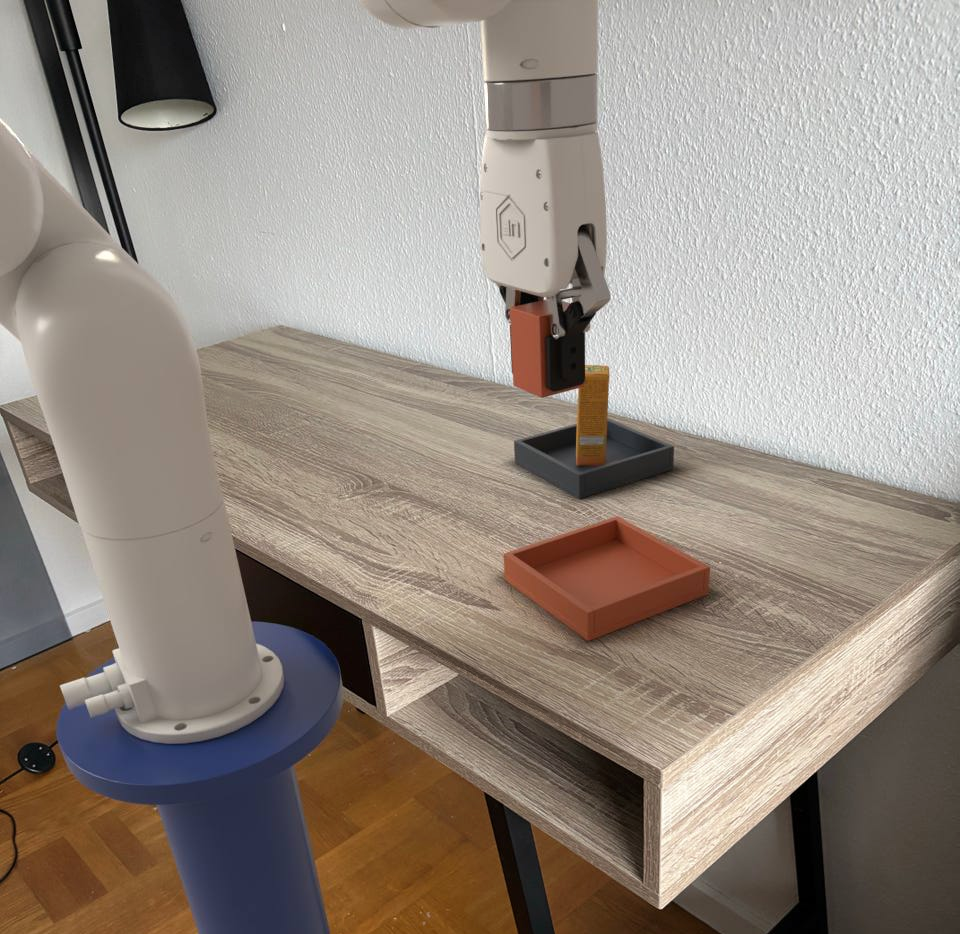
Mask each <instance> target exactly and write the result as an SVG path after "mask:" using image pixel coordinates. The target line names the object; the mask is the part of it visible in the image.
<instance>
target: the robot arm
mask: <svg viewBox="0 0 960 934" xmlns="http://www.w3.org/2000/svg"><path fill="white" fill-rule="evenodd" d="M357 1H358V2H359V3H360V5H361V6H362V7H363V8H364V9H365V10H366V11H367V12H368V13H369V14H370V15H371V16H373V17H374V18H376V20H378V21H380V22H382V23H383V24H386V25H389V26H391V27H395V28H399V29H404V30H424V29H435V28H440V27H444V26H454V25H463V24H464V25H465V24H473V23H479V22H480V40H481V57H482V58H481V59H482V79H483V97H484V112H485V116H484V117H485V129H486V131H485V132H486V134H484V139H483V146H482V154H481V155H482V156H481V167H480V186H479V189H480V191H479V221H480V222H479V231H480V232H479V233H480V237H479V238H480V259H481V261H480V262H481V269H482V273H483V274H484V276H485V277H486V278H487V279H488V280H489V281H491V282H492V283H494V284H495V285H496V286H497V288H498V289H499V294H500V296H501V298H502V300H503V302H504V306H505V308H504V316H505V320H506V321H507V323H508V324H509V339H510V340H509V341H510V360H511V361H510V362H511V374H512V375H513V366H512V344H511V322H510V307H514V306H519V305H524V304H528V303H533V302H538V301H542V300H547V307H548V315H549V323H550V331H551V334H552V336H549V337H545V341H546V379H547V389H548V390H551V391H553V392H555V391H559V390H563V389H567V388H571V387H574V386H578V385H582V384H583V383H584V381H585V365H586V333H588V332H589V331H590V330H591V322H592V320H593V319H594V317H595V316H596V314H597V312H599V311H600V310H601V309H603V308H604V307H605V306H606V305H608V303H609V302H610V301H611V292H610V289H609V286H608V283H607V280H606V277H605V274H606V269H607V268H606V267H607V252H608V251H607V247H608V244H607V243H608V242H607V240H608V239H607V238H608V235H607V233H608V231H607V228H608V227H607V226H608V225H607V206H606V205H607V204H606V189H605V177H604V169H603V168H604V166H603V159H602V150H601V145H600V138H599V132H597V131H598V97H599V96H598V86H599V85H598V84H599V83H598V82H599V81H598V78H599V77H598V76H599V75H598V71H599V70H598V67H599V65H598V63H599V62H598V58H599V56H598V52H599V51H598V49H599V48H598V47H599V46H598V42H599V41H598V40H599V39H598V38H599V36H598V34H599V32H598V30H599V25H598V24H599V12H598V11H599V0H357ZM570 284H571V287H569V285H570ZM545 298H546V299H545ZM568 299H571V302H569V303H570V305H569V306H568V308H567V309H566V311H565V312H563V304H562V301H564V300H568ZM0 325H1V326H2V327H4V328H5V329H6V330H7V331H8V332H9V333H10V334H12V335H13V336H14V337H15V338H16V339H17V340H18V341H19V342H20V343H21V347H22V350H23V354H24V358H25V362H26V366H27V369H28V372H29V375H30V380H31V382H32V386H33V388H34V392H35V394H36V397H37V400H38V403H39V405H40V409H41V411H42V415H43V418H44V420H45V423H46V427H47V429H48V432H49V435H50V438H51V442H52V444H53V447H54V450H55V453H56V456H57V459H58V462H59V463H58V464H59V466H60V469H61V472H62V475H63V478H64V481H65V485H66V488H67V491H68V495H69V497H70V501H71V504H72V507H73V510H74V513H75V516H76V519H77V523H78V526H79V528H80V529H81V532H82V536H83V539H84V543H85V545H86V548H87V549H86V550H87V552H88V555H89V557H90V561H91V564H92V568H93V571H94V574H95V577H96V580H97V583H98V586H99V589H100V593H101V596H102V599H103V602H104V606H105V608H106V612H107V615H108V618H109V621H110V624H111V627H112V630H113V633H114V637H115V641H116V643H117V645H118V648H115V649H113V650H112V651H111V652H112V654H113V657H114V658H115V661H116V663H114V664H113V665H110V666H107V667H104V668H103V670H104V672H103V673H100V674H97V675H94V676H91V677H88V678H86V677H81V678H78V679H75V680H72V681H69V682H65V683H63V684H60V685H59V688H60V690H61V693H62V696H63V698H64V702H66V704H67V707H68V709H69V710H71V709H74V708H77V707H80V706H83V705H86V706H87V708H88V711H89V714H90V716H91V718H93V717H96V716H99V715H102V714H105V713H108V712H109V711H111V710H114V709H115V711H116V714H117V718H118V720H119V722H120V723H121V725H122V727H123V728H124V729H125V730H127V731H128V732H129V733H130V734H132V735H134V736H136V737H138V738H140V739H144V740H147V741H151V742H156V743H165V744H186V743H193V742H200V741H205V740H209V739H213V738H217V737H220V736H223V735H226V734H228V733H231V732H234V731H236V730H238V729H240V728H242V727H244V726H246V725H248V724H250V723H251V722H253V721H254V720H256V719H257V718H259V717H260V716H262V715H263V714H264V713H265V712H266V711H267V710H268V709H269V708H270V707H272V706H273V704H274V703H275V702H276V700H277V699H278V698H279V696H280V694H281V692H282V689H283V686H284V674H283V668H282V665H281V662H280V660H279V658H278V657H277V656H276V655H275V654H274V653H273V652H272V651H271V650H269V649H267V648H266V647H264V646H262V645H259V644H256V641H255V636H254V632H253V627H252V623H251V621H252V619H251V618H252V617H251V614H250V609H249V606H248V602H247V597H246V592H245V588H244V583H243V579H242V574H241V569H240V565H239V561H238V556H237V551H236V547H235V543H234V538H233V533H232V530H231V529H232V528H231V525H230V520H229V516H228V511H227V507H226V504H225V503H226V502H225V498H224V495H223V491H222V487H221V483H220V478H219V474H218V473H219V472H218V468H217V465H216V464H217V463H216V460H215V455H214V450H213V444H212V439H211V434H210V428H209V421H208V415H207V407H206V400H205V393H204V384H203V379H202V378H203V377H202V371H201V365H200V359H199V355H198V351H197V347H196V344H195V340H194V337H193V334H192V332H191V329H190V327H189V324H188V322H187V320H186V318H185V315H184V314H183V312H182V310H181V309H180V307H179V305H178V304H177V302H176V301H175V299H174V298H173V297H172V295H171V294H170V293H169V291H168V290H167V289H166V288H165V287H164V286H163V285H162V284H161V283H160V282H159V281H158V280H157V279H156V278H154V276H153V275H152V274H150V272H148V271H147V270H146V269H145V268H143V267H142V266H141V265H140V264H139V263H138V262H137V261H136V260H135V259H134V258H133V257H132V256H131V255H130V254H129V253H128V252H127V251H126V250H125V249H124V248H123V247H122V245H120V244H119V243H118V242H117V241H116V240H115V239H114V238H113V236H111V234H109V233H108V232H107V230H106V229H105V228H104V227H103V226H102V225H101V224H100V223H99V222H98V221H97V220H96V219H95V217H93V216H92V215H91V214H90V213H89V211H87V210H86V209H85V207H84V206H83V205H82V204H81V203H80V202H79V201H78V199H76V198H75V196H73V195H72V193H70V191H68V190H67V188H65V186H64V185H63V184H62V183H61V182H60V181H59V180H58V179H57V178H56V177H55V176H54V175H53V174H52V173H51V172H50V171H49V170H48V169H47V167H46V166H45V165H44V164H43V163H42V162H41V161H40V160H39V159H38V158H37V156H35V155H34V153H33V152H31V150H30V149H29V148H28V147H27V146H26V145H25V144H24V143H23V142H22V141H21V139H20V138H19V137H18V136H17V134H16V133H15V132H14V131H13V130H12V129H11V127H10V126H8V124H7V123H5V121H3V120H2V119H1V118H0Z"/></svg>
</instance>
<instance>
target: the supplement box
mask: <svg viewBox="0 0 960 934" xmlns="http://www.w3.org/2000/svg"><path fill="white" fill-rule="evenodd" d="M609 388H610V367H609V366H608V365H600V364H585V381H584V387H581V388H577V407H576V408H577V410H576V411H577V412H576V413H577V414H576V424H577V435H576V464H577V466H585V467H590V466H602V465H606V440H607V418H608V416H609V415H608V413H609V390H610V389H609Z"/></svg>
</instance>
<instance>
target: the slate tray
mask: <svg viewBox="0 0 960 934" xmlns="http://www.w3.org/2000/svg"><path fill="white" fill-rule="evenodd" d="M576 435H577V423H574V424H571V425H567V426H563V427H560V428H556V429H552V430H549V431H545V432H541V433H538V434H534V435H529V436H526V437H523V438H520V439H516V440H514V441H513V450H514V451H513V453H514V464H515V465H518V466H520V467H521V468H523V469H524V470H527V471H529V472H530V473H532V474H534V475H535V476H538V477H539V478H541V479H543V480H544V481H546V482H548V483H550V484H552V485H554V486H556V487H557V488H559V489H561V490H563V491H565V492H566V493H568V494H569V495H572V496H574V497H575V498H577V499H578V500H579V499H583V498H587V497H590V496H593V495H596V494H599V493H603V492H605V491H610V490H612V489H616V488H618V487H622V486H625V485H628V484H631V483H634V482H637V481H641V480H645V479H647V478H650V477H653V476H657V475H660V474H663V473H666V472H670V471H673V470H674V462H675V461H674V460H675V459H674V458H675V446H674V445H672V444H670V443H667V442H665V441H662V440H661V439H658V438H655V437H654V436H650V435H648V434H646V433H644V432H642V431H639V430H637V429H636V428H635V429H634V428H633V427H630V426H627V425H626V424H623V423H620V422H618V421H616V420H614V419H612V418H609V417H607V440H606V465H602V466H590V467H585V466H577V464H576Z"/></svg>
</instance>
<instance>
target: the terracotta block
mask: <svg viewBox="0 0 960 934" xmlns="http://www.w3.org/2000/svg"><path fill="white" fill-rule="evenodd" d="M570 303H571V302H568V301H565V300H562V304H563V312H565V311H566V309H567V308H568V306H569V305H570ZM510 322H511V323H510V325H511V342H510V345H511V344H512V364H511V367H512V366H513V374H512V385H513V387H515V388H518V389H520V390H522V391H524V392H527V393H529V394H532V395H533V396H536V397H539V398H541V399H543V398H544V399H545V398H547V397H551V396H554V395H555V396H556V395H558V394H562V393H566V392H570V391H574V390H578V388H581V387H584V383H583V384H582V385H578V386H574V387H571V388H567V389H563V390H559V391H555V392H553V391H551V390H548V389H547V379H546V341H545V337H549V336H552V334H551V331H550V323H549V315H548V307H547V300H546V299H544V300H542V301H538V302H533V303H528V304H524V305H519V306H514V307H510Z"/></svg>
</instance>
